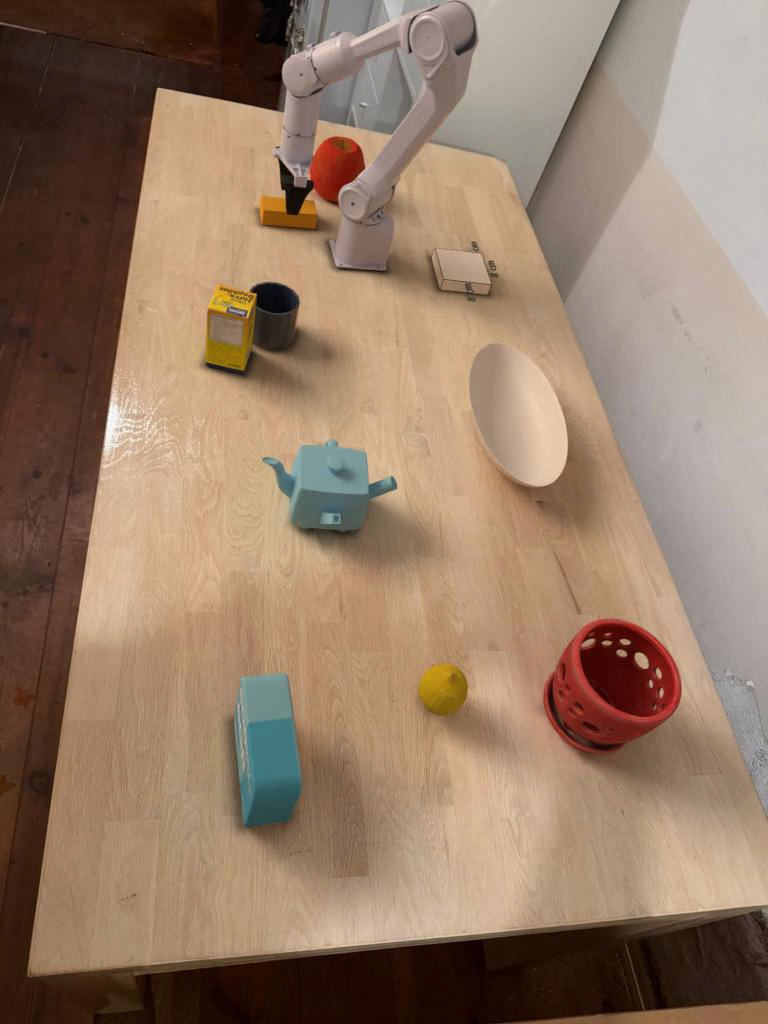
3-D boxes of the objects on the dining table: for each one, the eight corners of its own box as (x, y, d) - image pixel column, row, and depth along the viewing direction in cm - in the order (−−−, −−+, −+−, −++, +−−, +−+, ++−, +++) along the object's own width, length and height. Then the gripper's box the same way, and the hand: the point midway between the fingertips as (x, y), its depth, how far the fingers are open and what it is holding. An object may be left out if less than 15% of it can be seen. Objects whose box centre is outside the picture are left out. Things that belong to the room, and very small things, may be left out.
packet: (311, 214, 142) (314, 200, 140) (315, 228, 140) (317, 214, 137) (259, 210, 139) (260, 195, 137) (262, 224, 137) (263, 209, 134)
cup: (290, 318, 123) (296, 283, 117) (297, 350, 119) (302, 315, 113) (242, 316, 121) (246, 280, 115) (247, 349, 116) (251, 313, 111)
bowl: (447, 364, 125) (458, 336, 120) (530, 375, 128) (544, 348, 123) (472, 507, 107) (486, 481, 102) (567, 515, 110) (585, 490, 106)
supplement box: (251, 349, 116) (258, 292, 108) (243, 375, 113) (249, 318, 104) (214, 340, 116) (217, 282, 107) (204, 366, 112) (207, 308, 103)
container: (426, 241, 145) (430, 229, 143) (481, 248, 148) (485, 236, 146) (444, 309, 134) (448, 297, 132) (503, 315, 137) (508, 303, 135)
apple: (337, 172, 153) (347, 120, 145) (372, 200, 150) (383, 149, 142) (297, 182, 148) (304, 129, 139) (331, 212, 144) (341, 160, 136)
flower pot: (651, 749, 90) (706, 711, 81) (558, 772, 86) (605, 736, 77) (604, 652, 97) (650, 607, 88) (517, 669, 93) (555, 624, 84)
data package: (233, 717, 81) (241, 671, 72) (274, 712, 83) (287, 666, 73) (243, 831, 75) (254, 797, 65) (288, 824, 76) (304, 790, 67)
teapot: (384, 479, 107) (400, 432, 99) (390, 561, 98) (409, 517, 90) (257, 467, 103) (264, 417, 95) (253, 552, 94) (260, 505, 87)
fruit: (453, 730, 86) (475, 704, 80) (407, 718, 86) (426, 691, 80) (458, 687, 90) (480, 658, 83) (414, 675, 89) (432, 645, 83)
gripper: (270, 103, 129) (263, 177, 139) (281, 148, 121) (272, 223, 131) (310, 109, 131) (300, 180, 141) (323, 153, 123) (311, 226, 133)
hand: (289, 201), depth 137 cm, fingers open, 7 cm apart
